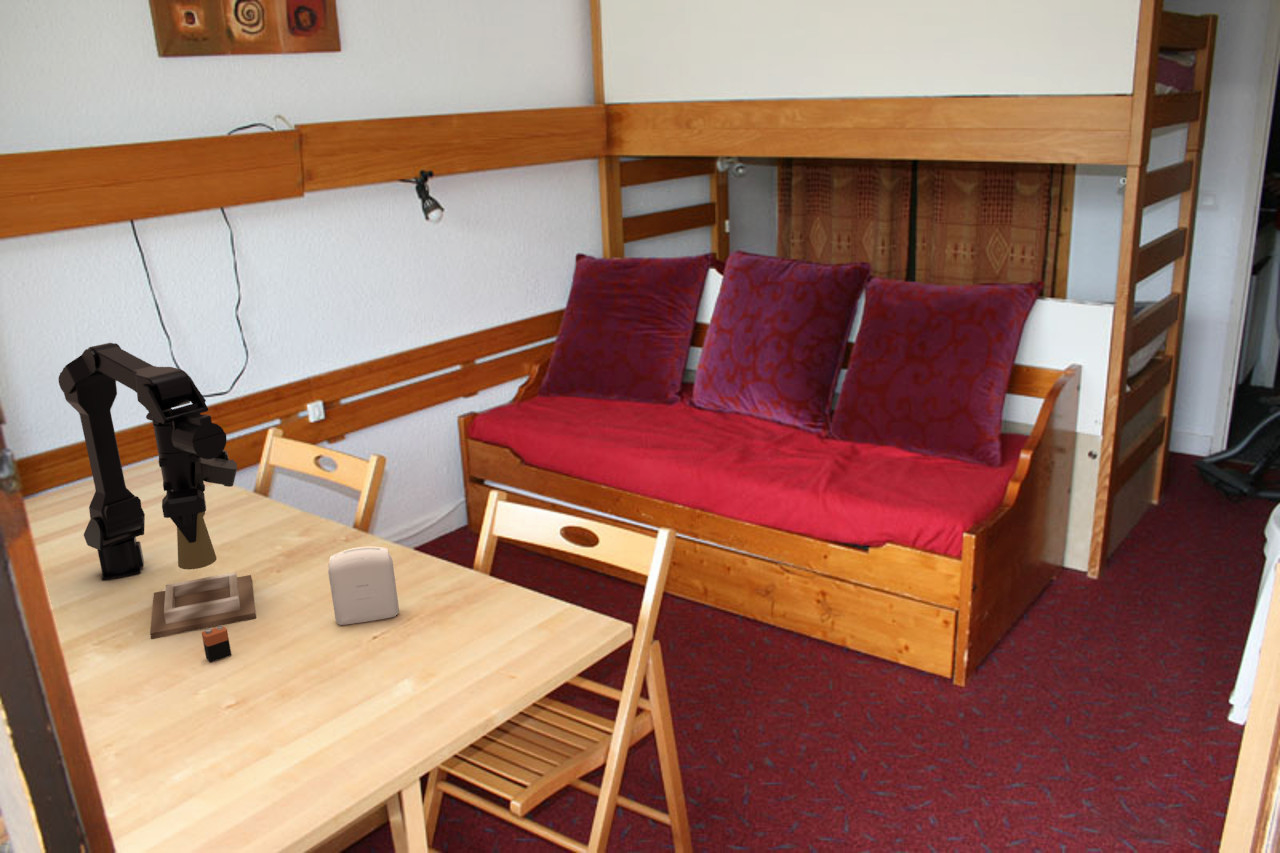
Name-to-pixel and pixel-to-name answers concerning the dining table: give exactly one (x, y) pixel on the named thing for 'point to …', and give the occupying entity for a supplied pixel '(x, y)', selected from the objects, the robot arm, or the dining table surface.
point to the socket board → (202, 604)
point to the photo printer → (363, 585)
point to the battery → (216, 643)
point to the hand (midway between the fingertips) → (192, 536)
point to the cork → (196, 548)
